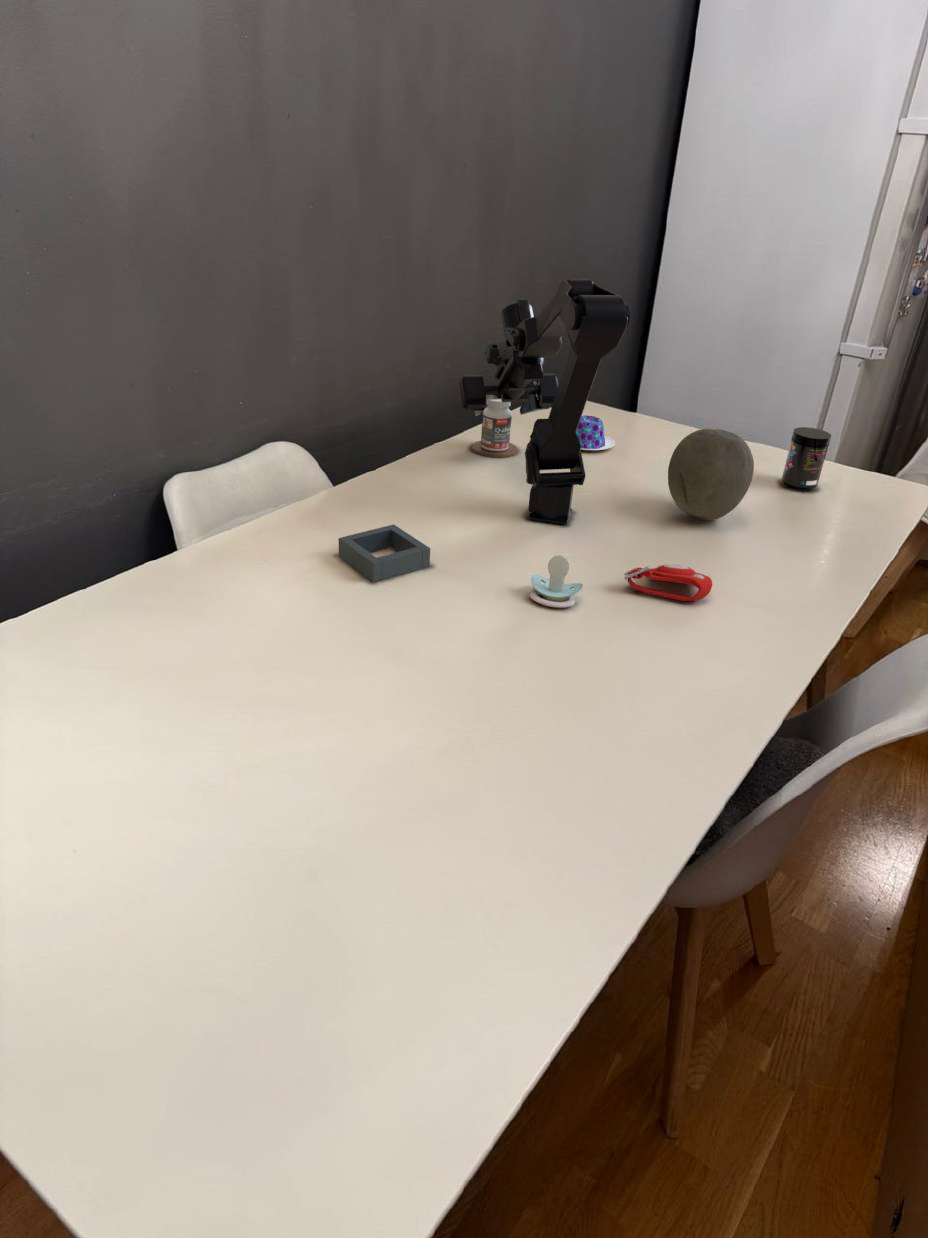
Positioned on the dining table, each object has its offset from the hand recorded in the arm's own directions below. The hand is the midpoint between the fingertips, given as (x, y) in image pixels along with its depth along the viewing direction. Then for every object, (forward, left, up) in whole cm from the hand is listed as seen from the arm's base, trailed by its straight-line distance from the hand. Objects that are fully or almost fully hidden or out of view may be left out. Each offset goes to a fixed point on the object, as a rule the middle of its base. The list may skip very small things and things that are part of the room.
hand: (498, 412), depth 172 cm
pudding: (-17, -12, -8) cm, 22 cm away
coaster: (0, -1, -8) cm, 8 cm away
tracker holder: (-36, +48, -8) cm, 61 cm away
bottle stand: (+5, +54, -8) cm, 55 cm away
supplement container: (-59, -4, -8) cm, 59 cm away
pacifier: (-21, +57, -8) cm, 61 cm away
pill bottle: (0, -1, -7) cm, 8 cm away
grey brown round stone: (-41, +18, -8) cm, 45 cm away
